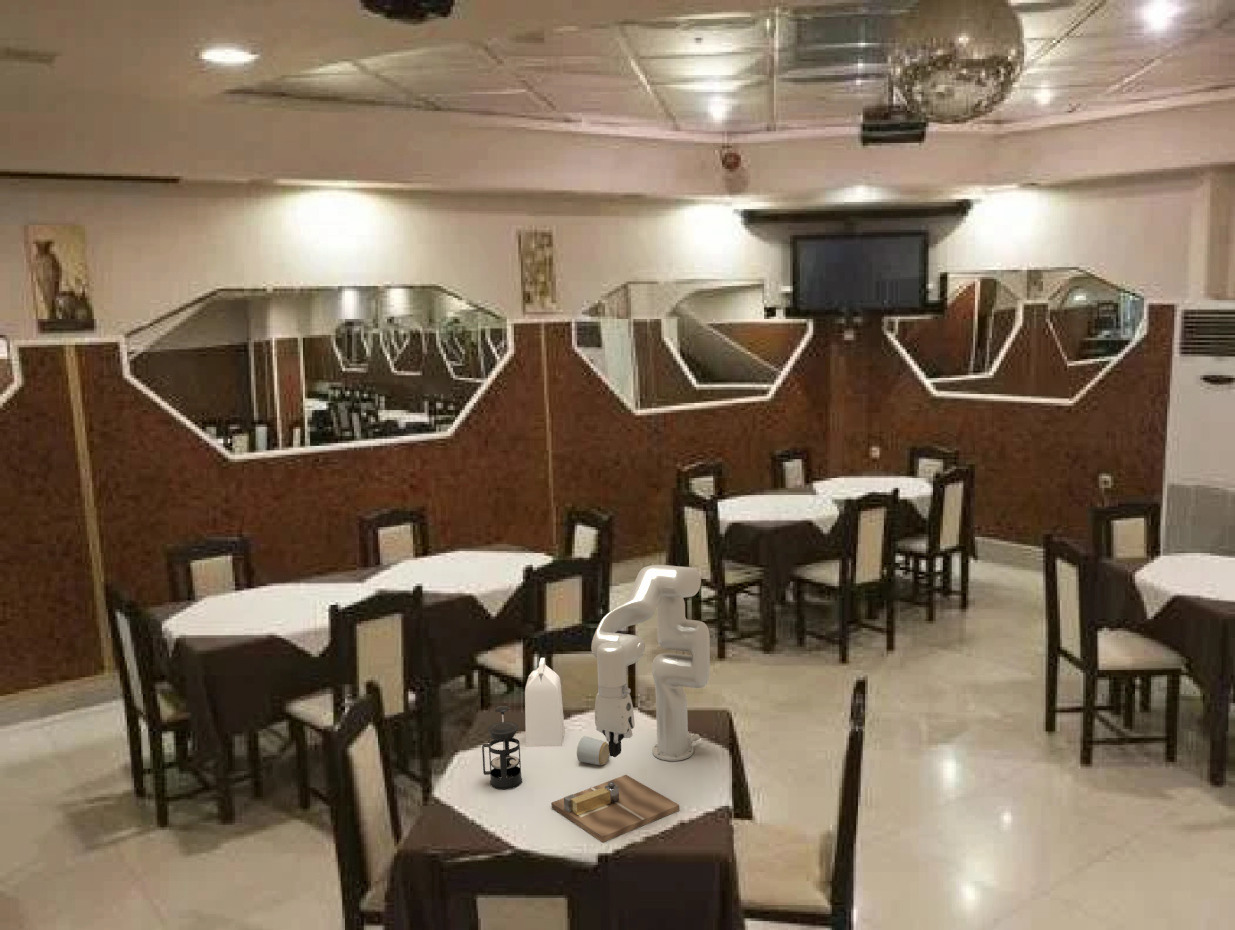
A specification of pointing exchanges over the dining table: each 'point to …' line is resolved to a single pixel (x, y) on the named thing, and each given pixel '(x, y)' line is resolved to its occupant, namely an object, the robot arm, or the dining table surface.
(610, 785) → the pin cap
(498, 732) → the french press
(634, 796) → the board
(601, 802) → the bar
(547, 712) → the milk
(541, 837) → the dining table surface
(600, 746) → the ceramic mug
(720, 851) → the dining table surface
